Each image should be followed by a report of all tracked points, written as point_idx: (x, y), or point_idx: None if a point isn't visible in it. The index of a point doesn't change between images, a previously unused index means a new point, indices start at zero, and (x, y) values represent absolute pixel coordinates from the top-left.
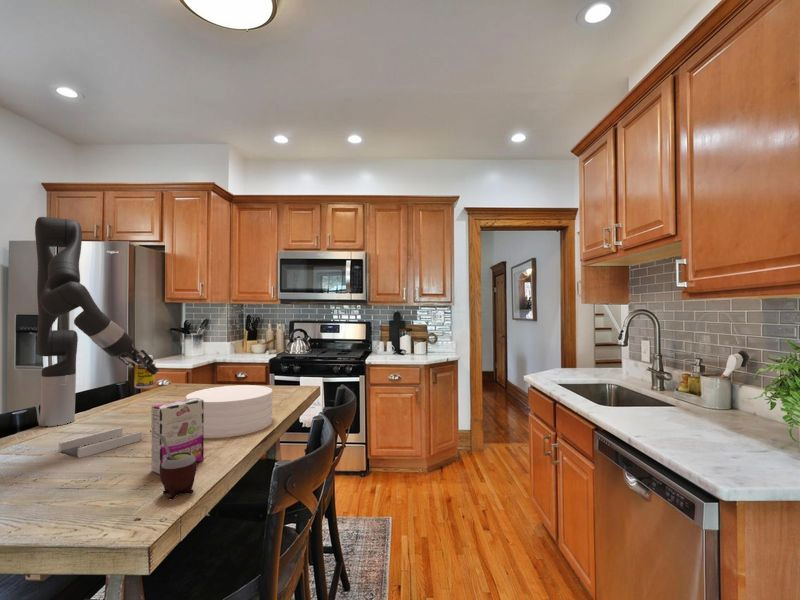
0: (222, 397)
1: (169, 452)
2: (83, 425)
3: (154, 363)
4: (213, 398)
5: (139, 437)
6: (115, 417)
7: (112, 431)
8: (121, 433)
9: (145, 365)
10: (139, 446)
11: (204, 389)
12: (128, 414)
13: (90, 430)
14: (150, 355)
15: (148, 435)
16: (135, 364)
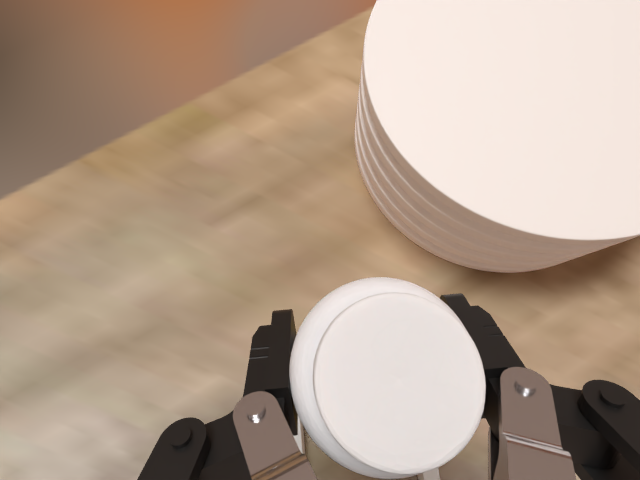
0: (634, 130)
1: None
2: (20, 425)
3: (448, 308)
4: (624, 163)
5: None
6: (22, 302)
7: (302, 449)
8: None
9: (594, 472)
10: (486, 433)
11: (372, 78)
12: (27, 254)
13: (120, 441)
14: (413, 320)
15: None
16: (372, 476)
